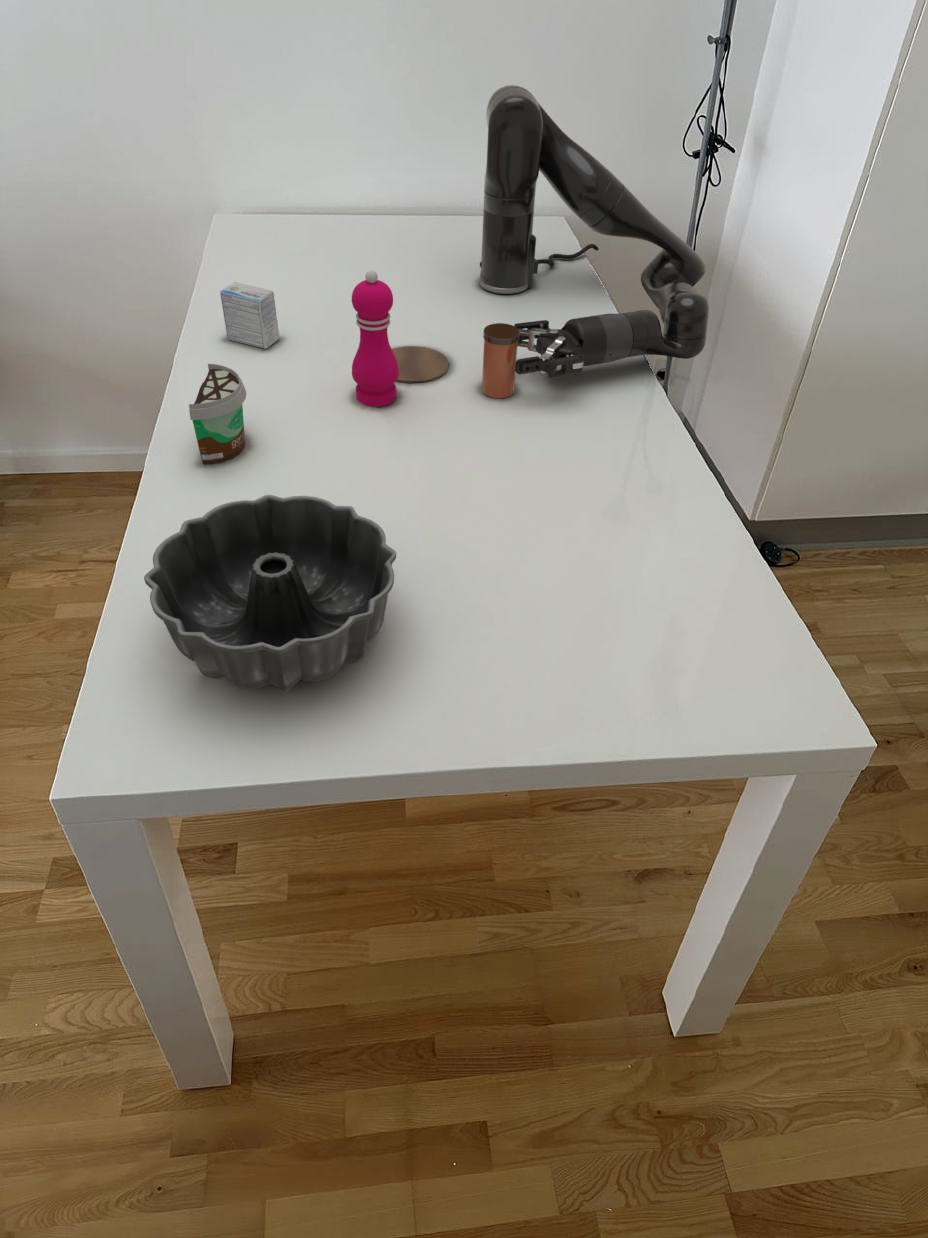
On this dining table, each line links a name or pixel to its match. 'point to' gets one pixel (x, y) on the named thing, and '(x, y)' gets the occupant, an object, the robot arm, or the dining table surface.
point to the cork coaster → (419, 364)
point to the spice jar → (499, 360)
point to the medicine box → (250, 315)
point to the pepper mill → (374, 343)
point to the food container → (219, 415)
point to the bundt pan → (273, 589)
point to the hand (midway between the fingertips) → (504, 354)
